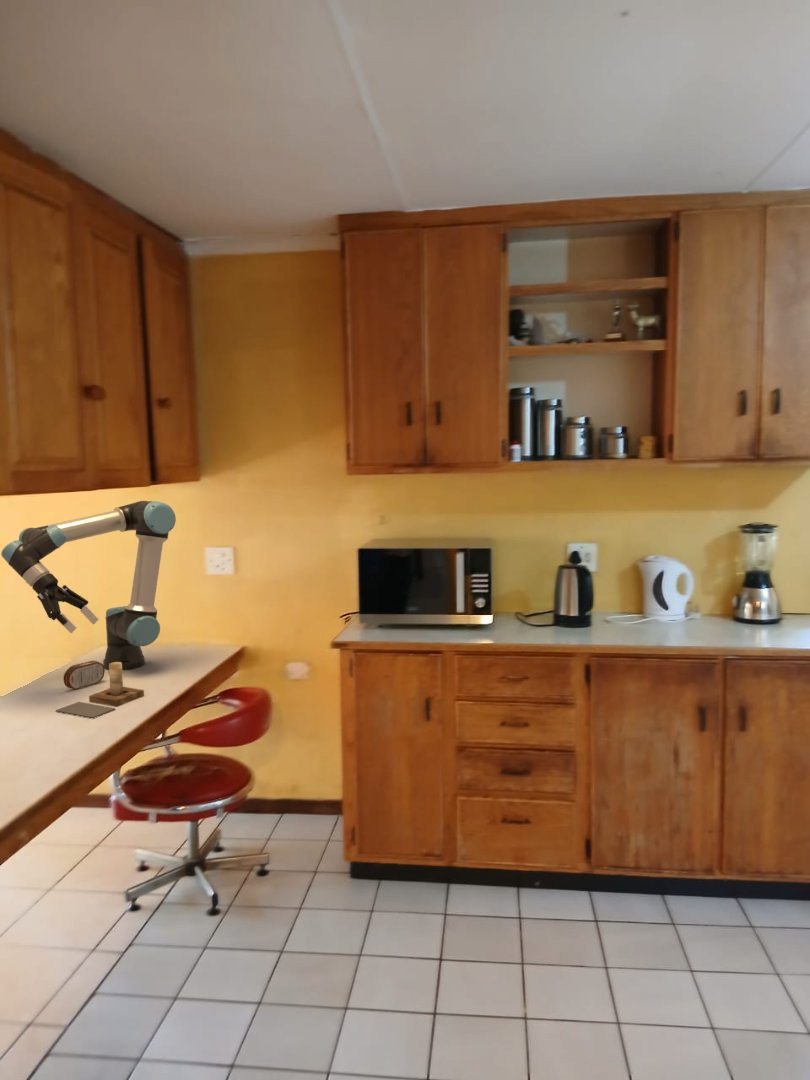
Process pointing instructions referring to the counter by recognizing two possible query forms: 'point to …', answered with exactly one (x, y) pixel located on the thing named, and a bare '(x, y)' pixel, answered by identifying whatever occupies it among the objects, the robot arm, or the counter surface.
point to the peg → (116, 679)
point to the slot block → (107, 699)
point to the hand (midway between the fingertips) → (85, 625)
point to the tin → (83, 674)
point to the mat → (86, 709)
